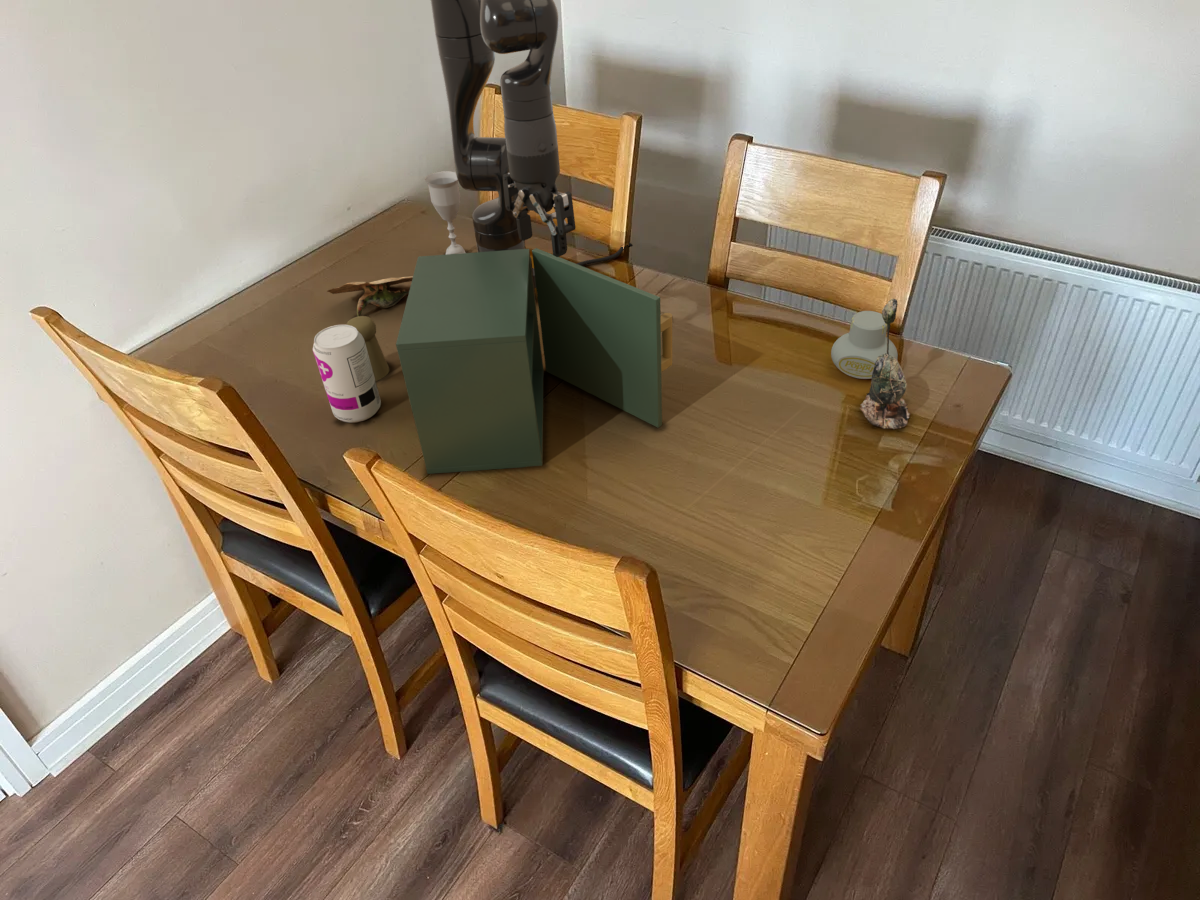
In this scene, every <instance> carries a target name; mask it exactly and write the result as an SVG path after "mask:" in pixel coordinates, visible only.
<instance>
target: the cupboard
mask: <svg viewBox="0 0 1200 900" xmlns="http://www.w3.org/2000/svg"><path fill="white" fill-rule="evenodd" d="M530 257H531V250H530V248H526V249H517V250H503V251H489V252H478V251H475V252H466V253H461V254H447V255H446V254H435V255H421V256H419V255H418V256H417V260H416V263H415V267H414V270H413V275H412V276H413V279H412V281H411V283H410V287H409V290H410V291H409V290H408V294H407V295H408V296H407V298H406V302H405V308H404V310H403V315H402V319H401V323H400V327H399V330H398V335H397V338H396V341H395V342H396V343H395V347H396V350H397V355H398V359H399V362H400V367H401V371H402V375H403V379H404V383H405V388H406V391H407V396H408V399H409V404H410V408H411V412H412V417H413V420H414V424H415V428H416V432H417V437H418V440H419V445H420V449H421V452H422V457H423V462H424V466H425V470H426V473H427V475H432V474H433V475H434V474H447V473H460V472H476V471H491V470H503V469H516V468H517V469H519V468H529V467H542V466H543V457H544V456H543V455H544V453H543V451H544V383H545V382H544V379H545V378H544V375H545V374H544V373H545V370H544V369H545V368H544V362H543V354H542V344H541V336H540V328H539V321H538V320H539V319H538V311H537V303H536V300H535V294H536V292H535V293H534V285H533V276H532V268H533V267H532V268H531V260H532V258H531V259H530Z"/></svg>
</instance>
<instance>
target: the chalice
mask: <svg viewBox="0 0 1200 900" xmlns="http://www.w3.org/2000/svg"><path fill="white" fill-rule="evenodd" d="M424 181H425V183H426V184H427V185H428V191H429V196H430V201H431V204H432V205H433V207H434V209H435V210H436V212H437V214H438V215H439V216H440V218H441V219H442V220H443V221H446V222H447V230H448V232H449V235H448V238H449V240H450V244H449V246H448V247H447V248H446V250H445V255H447V254H461V253H467V252H466V250H465V249H464V247H463V246H462V245H461V244H458V243H457V241H456V238H457V234H455V228H456V227H455V226H454V224H453V221H454V220H455V219H456V218H457V215H458V212H459V209H460V205H461V193H460V187H459V181H458V179H457V176H456V171H451V170H443V171H435V172H432V173H430V174H427V175H426V176H425V177H424Z"/></svg>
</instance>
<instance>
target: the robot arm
mask: <svg viewBox="0 0 1200 900" xmlns="http://www.w3.org/2000/svg"><path fill="white" fill-rule="evenodd" d="M430 5H431V6H430V7H431V13H432V20H433V28H434V32H435V41H436V46H437V52H438V58H439V62H440V67H441V72H442V78H443V83H444V87H445V93H446V94H445V95H446V101H447V106H448V115H449V116H448V117H449V126H450V136H451V145H452V155H453V163H454V165H453V166H454V172H455V173H456V176H457V179H458V185H460V187H461V188H462V189H463V190H466V191H471V192H497V193H498V196H497V197H495V198H493V199H490V200H487V201H485V202H482V203H481V204H479V205H478V206H477V207H476V208H474V210H473V212H472V215H471V216H472V217H471V218H472V225H473V231H474V238H475V244H476V251H477V252H489V251H503V250H517V249H527V246H526V241H527V240H529V239H531V238H532V237H533V228H532V226H533V225H532V220H531V214H529V213H530V211H531V212H534V213H536V214H537V215H539V217H540V219H541V222H542V223H544V224H546V225H547V227H548V229H549V231H550V233H551V234H550V239H551V248H552V254H553V255H554V256H556V257H560V258H561V256H564V255H566V254H567V252H568V242H567V240H568V239H567V234H568V233H570V232H573V231H575V230H576V220H575V211H574V204H573V196H572V193H571V192H570V191H569V190H567V191H565V192H560V191H559V190H558V187H557V183H556V181H557V179H558V177H559V175H560V173H561V167H560V155H559V143H558V142H559V141H558V131H557V124H556V119H555V115H554V107H553V95H552V94H553V93H552V72H553V65H554V64H553V63H554V57H555V56H554V55H555V51H556V45H557V40H558V33H559V24H560V23H559V22H560V19H559V12H558V11H559V10H558V7H557V5H556V2H555V1H554V0H430ZM524 51H529V52H528V54H527V57H526V59H524V61H522V62H521V63H519V64H517V65H515V66H513V67H511V68H509V69H507V70H506V71H504V72H503V73H502V74H501V77H500V80H499V81H500V93H501V101H502V110H503V119H504V121H503V122H504V125H503V127H504V129H503V130H504V131H503V132H504V137H499V136H498V137H497V136H495V137H494V136H493V137H491V136H490V137H489V136H488V137H487V136H476V134H475V129H474V127H475V126H474V119H475V112H476V109H477V105H478V102H479V100H480V97H481V96H482V93H483V91H484V89H485V87H486V86H487V83H488V81H489V78H490V76H491V74H492V71H493V68H494V65H495V61H496V54H499V55H508V54H513V53H518V52H519V53H520V52H524ZM553 209H554V212H552V213H549V212H550V211H552V210H553ZM565 219H566V220H567V221H566V220H565ZM554 220H556V224H555V222H554ZM628 242H629V246H628V245H627V246H626V247H628V248H629V247H631V248H632V247H633V246H634V245H633V244H632V242H630V241H628ZM626 247H624V249H623V247H621V246H620V247H619V249H618V250H617V251H616V252H614V253H613V254H611V255H608V256H603V257H599V258H592V259H587V260H583V261H580V262H577V263H576V264H578V265H580V266H583V267H585V266H588V265H593V264H599V263H604V262H608V261H611V260H614V259H616V258H618V257H619V256H620V255H621V254H622V253H623V252H624V250H625V249H626ZM530 259H531V268H532V276H533V285H534V293H535V301H536V300H537V293H536V281H535V272H534V267H533V259H532V257H531V256H530Z"/></svg>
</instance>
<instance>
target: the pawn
mask: <svg viewBox="0 0 1200 900" xmlns="http://www.w3.org/2000/svg"><path fill="white" fill-rule="evenodd" d="M345 325H350V326H353V327H355V328H356V329H357V331H358V332H359V333H360V334H361V335H362V336H363V338H364V341H365V344H366V348H367V352H368V356H369V359H370V363H371V367H372V370H373V374H374V378H375V381H376V382H377V381H380V380H381V379H383V378H385V377H387V375H388V374H389V372H390V366H389V364H388V362H387V360H386V357H385V355H384V352H383V350H382V347H381V346H380V345H381V344H380V343H379V341H378V338H377V336H376V333H377V326H376V322H375V320H374V319H372V318H371V317H369V316H366V315H360V316H358V317H357V316H354V317H353V318H350V319H349V320H348V321H347V323H346V324H345Z"/></svg>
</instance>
